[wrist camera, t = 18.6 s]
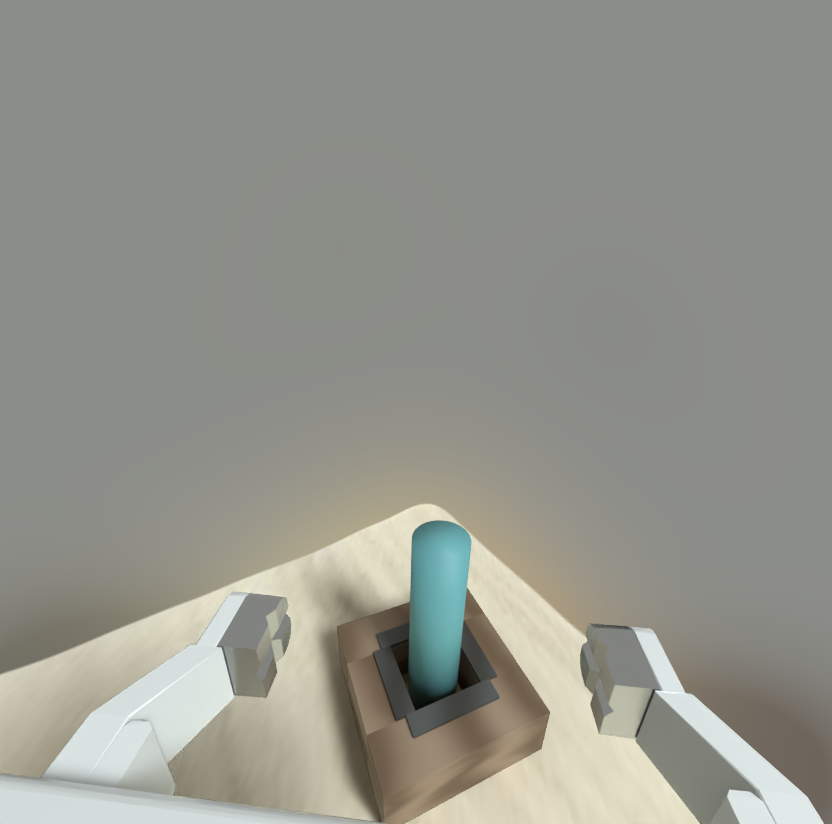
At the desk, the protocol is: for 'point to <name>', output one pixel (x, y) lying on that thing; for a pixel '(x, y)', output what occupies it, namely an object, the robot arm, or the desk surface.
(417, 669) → the peg
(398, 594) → the desk surface
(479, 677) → the socket block
